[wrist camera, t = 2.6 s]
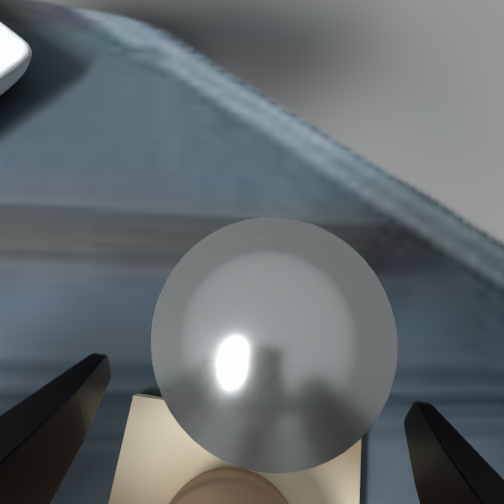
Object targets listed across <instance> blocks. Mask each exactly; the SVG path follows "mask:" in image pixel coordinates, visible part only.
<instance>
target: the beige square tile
mask: <svg viewBox="0 0 504 504" xmlns="http://www.w3.org/2000/svg"><path fill="white" fill-rule="evenodd" d="M360 468H361V439H360V440H359V441H358V442H357V443H355V444H354V445H353V446H352V447H350V448H349V449H348V450H347V451H346V452H344V453H343V454H341V455H339V456H337V457H336V458H334V459H332V460H331V461H329V462H326V463H324V464H321V465H319V466H316V467H314V468H310V469H306V470H302V471H297V472H290V473H264V472H256V471H252V470H248V469H243V468H240V467H237V466H235V465H232V464H230V463H227V462H225V461H223V460H221V459H219V458H218V457H216V456H214V455H212V454H211V453H209V452H207V451H206V450H205V449H204V448H202V447H201V446H200V445H199V444H197V443H196V442H195V441H194V440H193V439H192V438H191V437H190V436H189V435H188V434H187V433H186V432H185V431H184V430H183V429H182V428H181V427H180V425H179V424H178V422H177V421H176V420H175V418H174V417H173V415H172V414H171V413H170V411H169V409H168V407H167V405H166V403H165V401H164V399H163V397H159V396H153V395H146V394H139V393H138V394H135V395H133V399H132V403H131V407H130V412H129V416H128V420H127V425H126V429H125V433H124V438H123V442H122V446H121V451H120V455H119V459H118V464H117V468H116V472H115V477H114V481H113V485H112V490H111V494H110V498H109V503H108V504H359V500H360Z"/></svg>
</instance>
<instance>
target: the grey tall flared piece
mask: <svg viewBox="0 0 504 504" xmlns="http://www.w3.org/2000/svg"><path fill="white" fill-rule="evenodd" d="M397 354H398V342H397V330H396V324H395V319H394V314H393V311H392V308H391V305H390V302H389V299H388V297H387V295H386V292H385V290H384V288H383V286H382V284H381V282H380V281H379V279H378V278H377V276H376V274H375V273H374V271H373V270H372V269H371V267H370V266H369V265H368V264H367V262H366V261H365V260H364V259H363V258H362V257H361V256H360V255H359V254H358V253H357V252H356V251H355V250H354V249H353V248H352V247H351V246H349V245H348V244H347V243H346V242H344V241H343V240H342V239H340V238H339V237H337V236H335V235H334V234H332V233H330V232H329V231H327V230H324V229H322V228H320V227H318V226H316V225H313V224H310V223H307V222H303V221H299V220H294V219H289V218H279V217H265V218H255V219H249V220H244V221H240V222H237V223H234V224H230V225H228V226H226V227H224V228H221V229H219V230H217V231H215V232H214V233H212V234H210V235H209V236H207V237H205V238H204V239H203V240H201V241H200V242H199V243H197V244H196V245H195V246H193V247H192V248H191V249H190V250H189V251H188V252H187V253H186V254H185V255H184V256H183V257H182V259H181V260H180V261H179V262H178V264H177V265H176V266H175V268H174V269H173V270H172V272H171V274H170V275H169V277H168V279H167V280H166V282H165V284H164V286H163V289H162V291H161V293H160V295H159V298H158V301H157V305H156V308H155V311H154V316H153V322H152V328H151V355H152V364H153V369H154V373H155V377H156V381H157V384H158V387H159V389H160V392H161V395H162V397H163V399H164V401H165V403H166V405H167V407H168V409H169V411H170V413H171V414H172V415H173V417H174V418H175V420H176V421H177V422H178V424H179V425H180V427H181V428H182V429H183V430H184V431H185V432H186V433H187V434H188V435H189V436H190V437H191V438H192V439H193V440H194V441H195V442H196V443H197V444H199V445H200V446H201V447H202V448H204V449H205V450H206V451H207V452H209V453H211V454H212V455H214V456H216V457H218V458H219V459H221V460H223V461H225V462H227V463H230V464H232V465H235V466H237V467H240V468H243V469H248V470H252V471H256V472H264V473H290V472H297V471H302V470H306V469H310V468H314V467H316V466H319V465H321V464H324V463H326V462H329V461H331V460H332V459H334V458H336V457H337V456H339V455H341V454H343V453H344V452H346V451H347V450H348V449H349V448H350V447H352V446H353V445H354V444H355V443H357V442H358V441H359V440H360V439H361V438H362V437H363V436H364V434H365V433H366V432H367V431H368V430H369V429H370V428H371V426H372V425H373V423H374V422H375V421H376V419H377V418H378V416H379V415H380V413H381V411H382V409H383V407H384V405H385V403H386V401H387V399H388V397H389V394H390V391H391V388H392V385H393V382H394V377H395V372H396V367H397Z"/></svg>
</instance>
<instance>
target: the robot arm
mask: <svg viewBox="0 0 504 504" xmlns="http://www.w3.org/2000/svg"><path fill="white" fill-rule="evenodd" d="M110 375H111V374H110V366H109V360H108V357H107V355H104V354H98V353H93V354H91V355H89V356H87V357H86V358H85V359H83V360H82V361H80V362H79V363H77V364H76V365H74V366H73V367H71V368H70V369H68V370H67V371H65V372H64V373H62V374H61V375H59V376H58V377H56V378H55V379H54V380H52V381H51V382H49V383H48V384H46V385H45V386H43V387H42V388H40V389H39V390H37V391H36V392H34V393H33V394H31V395H30V396H28V397H27V398H25V399H24V400H23V401H21V402H20V403H18V404H17V405H15V406H14V407H12V408H11V409H9V410H8V411H6V412H5V413H3V414H2V415H0V504H50V502H51V501H52V499H53V497H54V495H55V493H56V491H57V489H58V488H59V486H60V484H61V482H62V480H63V478H64V476H65V475H66V473H67V471H68V469H69V467H70V465H71V463H72V462H73V460H74V458H75V456H76V454H77V452H78V450H79V449H80V447H81V445H82V443H83V441H84V439H85V437H86V435H87V433H88V431H89V429H90V426H91V424H92V422H93V419H94V417H95V414H96V412H97V410H98V407H99V405H100V402H101V400H102V398H103V395H104V393H105V390H106V388H107V386H108V383H109V380H110ZM404 427H405V433H406V438H407V444H408V449H409V455H410V460H411V466H412V471H413V476H414V481H415V486H416V490H417V494H418V497H419V501H420V504H504V480H503V479H502V478H501V477H500V476H499V474H498V473H497V472H496V471H495V470H494V469H493V468H492V467H491V466H490V465H489V464H488V463H487V462H486V461H485V460H484V459H483V458H482V457H481V456H480V455H479V453H478V452H477V451H476V450H475V449H474V448H473V447H472V446H471V445H470V444H469V443H468V442H467V441H466V440H465V439H464V438H463V437H462V436H461V435H460V434H459V433H458V431H457V430H456V429H455V428H454V427H453V426H452V425H451V424H450V423H449V422H448V421H447V420H446V419H445V418H444V417H443V416H442V415H441V414H440V413H439V412H438V411H437V409H436V408H435V407H434V406H433V405H431V404H430V403H426V402H419V401H416V402H414V403H413V405H412V406H411V408H410V410H409V412H408V414H407V416H406V417H405V421H404Z"/></svg>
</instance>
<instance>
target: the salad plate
mask: <svg viewBox="0 0 504 504" xmlns="http://www.w3.org/2000/svg"><path fill="white" fill-rule="evenodd" d="M31 56H32V50H31V48H30V46H29V44H28V43H27V42H26V41H25V40H23V39H22V38H21V37H20V36H18V35H17V34H16V33H15V32H13V31H12V30H11V29H10V28H8V27H7V26H6V25H4V24H3V23H1V22H0V95H1V94H3V93H4V92H5V91H6V90H8V89H9V88H10V87H11V86H12V85H13V84H14V83H16V82H17V81H18V80H19V79H20V78H21V76H22V75H23V74H24V73H25V71H26V69H27V67H28V65H29V63H30V60H31Z"/></svg>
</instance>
